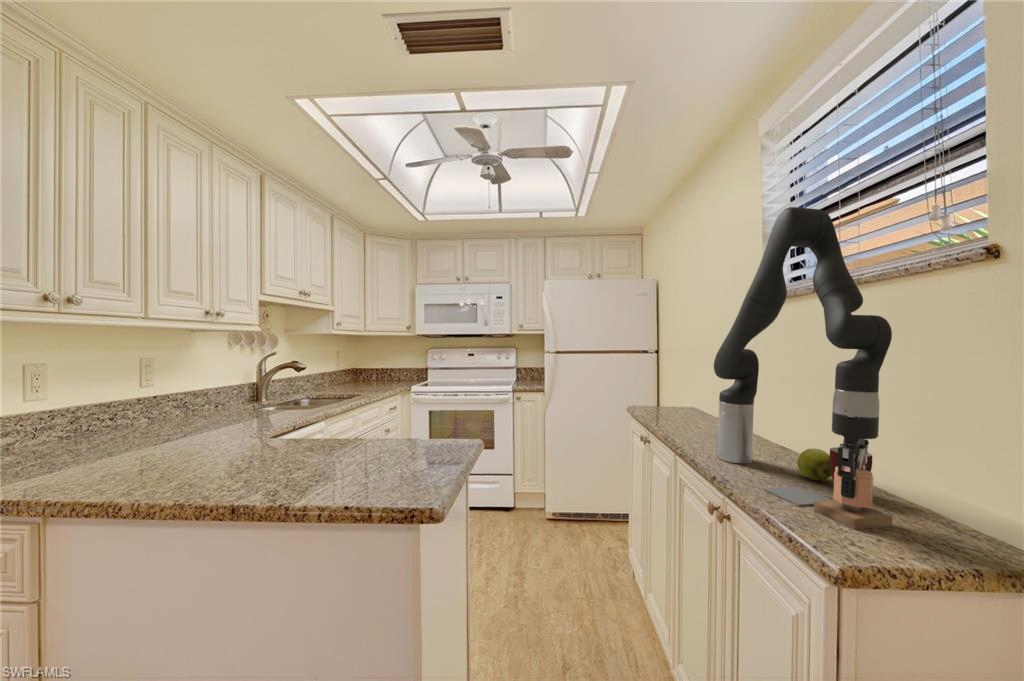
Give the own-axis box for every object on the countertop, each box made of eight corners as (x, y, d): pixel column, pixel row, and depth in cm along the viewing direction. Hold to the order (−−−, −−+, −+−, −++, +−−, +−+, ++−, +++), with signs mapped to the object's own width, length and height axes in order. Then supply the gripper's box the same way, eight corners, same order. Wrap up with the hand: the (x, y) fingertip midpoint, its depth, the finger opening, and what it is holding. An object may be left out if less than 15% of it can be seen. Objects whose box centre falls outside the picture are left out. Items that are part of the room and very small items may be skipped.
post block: (813, 510, 93) (815, 478, 93) (848, 508, 95) (849, 476, 95) (854, 529, 84) (855, 493, 84) (892, 526, 86) (893, 491, 86)
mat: (763, 489, 105) (763, 488, 105) (798, 488, 107) (798, 486, 107) (798, 506, 95) (798, 504, 95) (836, 503, 97) (836, 502, 97)
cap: (837, 493, 94) (838, 464, 94) (873, 502, 90) (874, 471, 90) (831, 501, 90) (832, 470, 90) (868, 510, 85) (869, 477, 85)
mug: (887, 505, 97) (888, 460, 97) (847, 502, 98) (849, 458, 98) (856, 488, 108) (858, 448, 108) (821, 486, 109) (822, 446, 109)
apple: (820, 474, 118) (821, 445, 118) (842, 486, 109) (843, 454, 109) (790, 473, 119) (791, 444, 119) (809, 484, 110) (810, 453, 110)
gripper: (841, 406, 97) (838, 481, 97) (823, 413, 87) (820, 496, 88) (885, 411, 91) (882, 490, 92) (871, 419, 82) (867, 508, 82)
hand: (851, 493), depth 90 cm, fingers closed on cap, 6 cm apart
